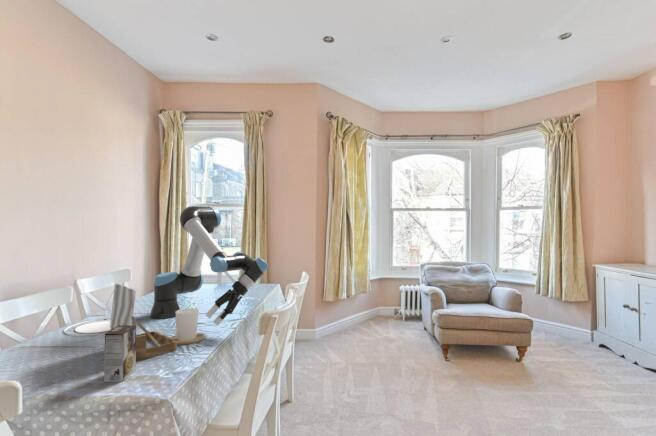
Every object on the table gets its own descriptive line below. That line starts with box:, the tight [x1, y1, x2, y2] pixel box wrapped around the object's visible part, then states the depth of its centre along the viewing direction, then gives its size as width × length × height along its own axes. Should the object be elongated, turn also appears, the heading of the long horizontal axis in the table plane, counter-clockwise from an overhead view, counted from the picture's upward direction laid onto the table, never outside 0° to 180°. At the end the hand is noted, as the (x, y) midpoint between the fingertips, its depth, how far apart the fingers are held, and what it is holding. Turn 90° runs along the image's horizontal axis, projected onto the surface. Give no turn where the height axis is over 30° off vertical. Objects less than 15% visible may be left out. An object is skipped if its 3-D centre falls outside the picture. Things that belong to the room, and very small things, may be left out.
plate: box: [64, 317, 111, 337], centre depth 172 cm, size 28×28×1 cm
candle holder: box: [175, 307, 200, 341], centre depth 156 cm, size 10×10×12 cm
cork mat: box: [170, 332, 205, 346], centre depth 156 cm, size 15×15×1 cm
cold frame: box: [109, 282, 178, 362], centre depth 143 cm, size 22×18×27 cm
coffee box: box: [103, 325, 137, 383], centre depth 119 cm, size 9×6×16 cm
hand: (211, 320), depth 162 cm, fingers open, 13 cm apart
